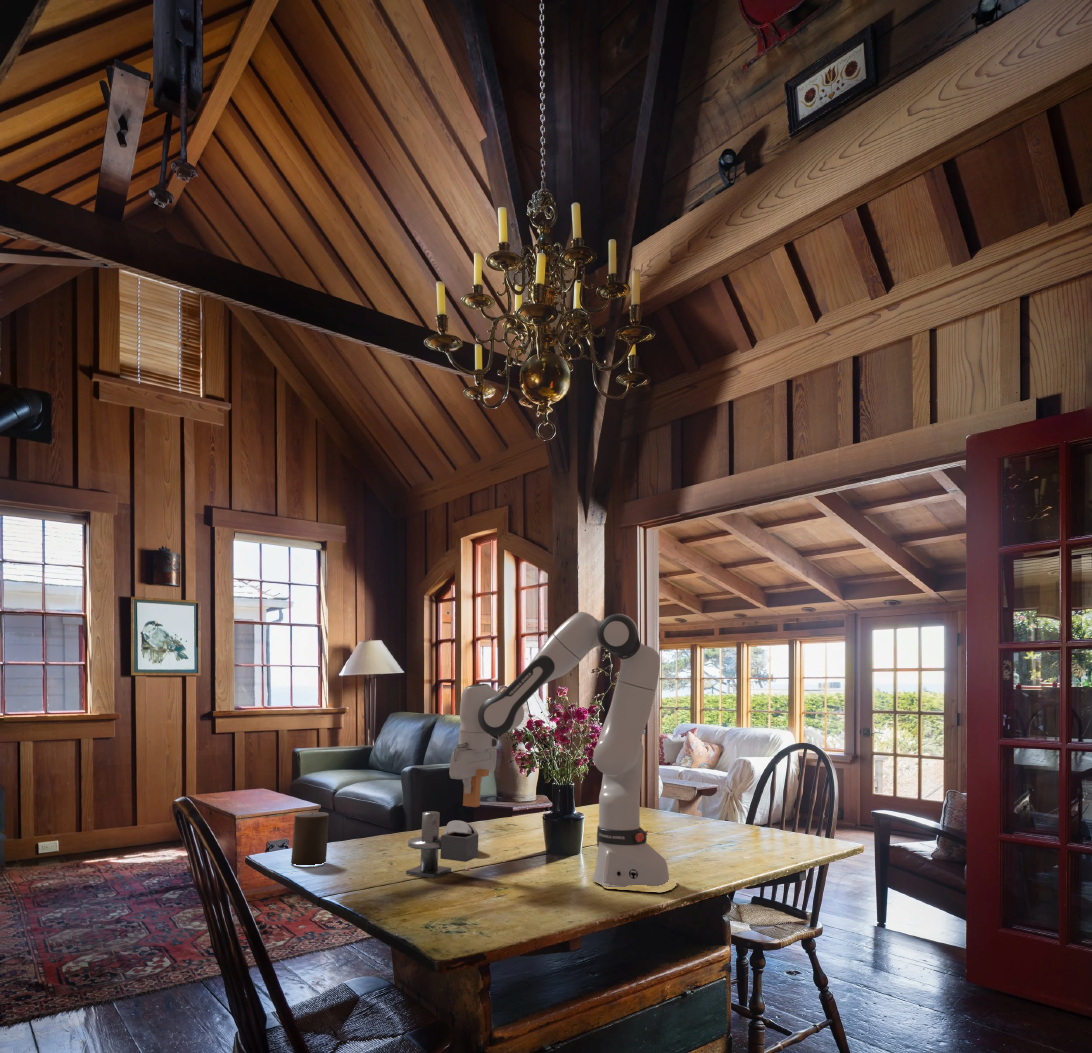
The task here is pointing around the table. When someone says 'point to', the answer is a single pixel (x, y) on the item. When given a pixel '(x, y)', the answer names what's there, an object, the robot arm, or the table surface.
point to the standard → (441, 847)
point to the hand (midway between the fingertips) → (472, 792)
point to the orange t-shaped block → (475, 789)
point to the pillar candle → (310, 838)
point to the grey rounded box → (460, 827)
